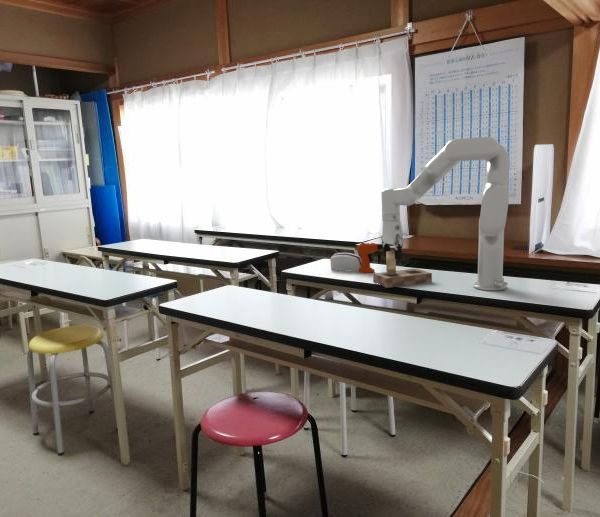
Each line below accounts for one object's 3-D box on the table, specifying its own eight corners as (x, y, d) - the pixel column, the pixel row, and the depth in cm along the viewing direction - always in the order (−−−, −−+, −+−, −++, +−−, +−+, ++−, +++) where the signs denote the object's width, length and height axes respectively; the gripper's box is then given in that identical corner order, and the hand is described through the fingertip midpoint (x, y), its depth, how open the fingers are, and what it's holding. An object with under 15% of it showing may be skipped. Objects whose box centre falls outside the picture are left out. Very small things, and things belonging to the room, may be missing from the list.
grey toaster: (365, 269, 258) (362, 252, 254) (361, 274, 255) (358, 256, 250) (334, 267, 266) (331, 250, 262) (331, 272, 263) (327, 255, 258)
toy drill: (397, 270, 246) (393, 239, 243) (358, 275, 250) (353, 244, 248) (398, 268, 250) (394, 237, 248) (359, 273, 255) (355, 243, 253)
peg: (397, 284, 225) (397, 252, 222) (389, 285, 223) (389, 253, 221) (393, 282, 229) (392, 250, 226) (384, 283, 227) (384, 251, 225)
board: (431, 282, 226) (431, 273, 225) (386, 287, 219) (386, 278, 218) (416, 277, 237) (416, 268, 236) (373, 282, 230) (373, 273, 229)
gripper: (409, 218, 214) (410, 259, 217) (388, 215, 230) (390, 253, 233) (393, 219, 212) (394, 261, 215) (373, 217, 228) (375, 255, 231)
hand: (392, 257), depth 224 cm, fingers open, 9 cm apart
